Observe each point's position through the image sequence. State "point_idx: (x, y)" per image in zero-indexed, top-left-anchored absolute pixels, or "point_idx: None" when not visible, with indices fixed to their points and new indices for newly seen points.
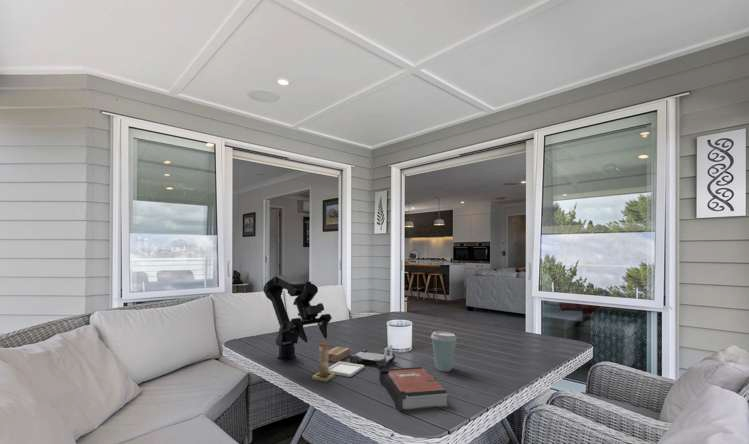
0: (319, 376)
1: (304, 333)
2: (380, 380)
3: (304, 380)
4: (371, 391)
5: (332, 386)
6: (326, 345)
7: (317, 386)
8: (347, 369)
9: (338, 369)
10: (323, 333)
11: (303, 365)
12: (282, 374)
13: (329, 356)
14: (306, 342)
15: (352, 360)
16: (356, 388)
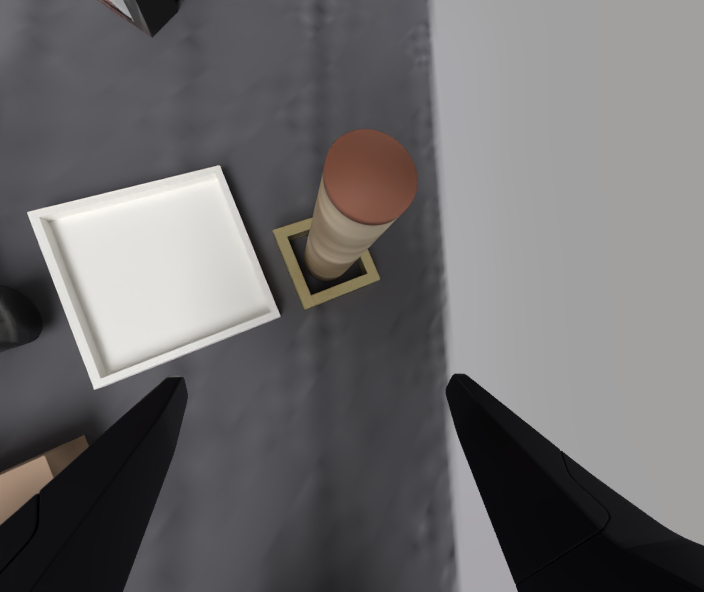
0: None
1: (539, 451)
2: (162, 11)
3: (407, 294)
4: (273, 4)
5: None
6: (373, 135)
7: None
8: (155, 257)
9: (195, 293)
10: (146, 486)
11: (293, 510)
12: (444, 435)
13: None
14: (451, 385)
15: (17, 321)
16: (297, 67)
